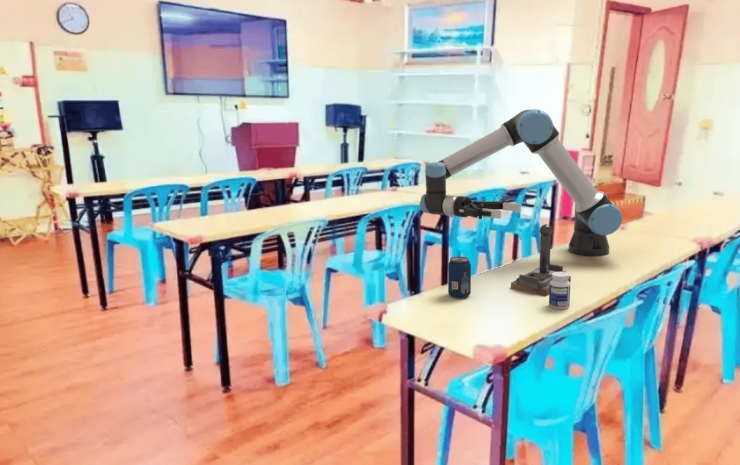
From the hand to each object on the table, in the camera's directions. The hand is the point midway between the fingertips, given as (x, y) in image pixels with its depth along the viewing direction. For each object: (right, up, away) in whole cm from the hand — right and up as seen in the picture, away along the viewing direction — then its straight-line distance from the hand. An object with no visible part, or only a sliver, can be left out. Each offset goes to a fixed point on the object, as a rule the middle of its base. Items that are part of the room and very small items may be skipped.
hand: (510, 211), depth 189 cm
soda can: (-20, -27, -15) cm, 37 cm away
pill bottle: (+7, -29, -27) cm, 40 cm away
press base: (+8, -25, -7) cm, 27 cm away
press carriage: (+9, -22, -6) cm, 25 cm away
